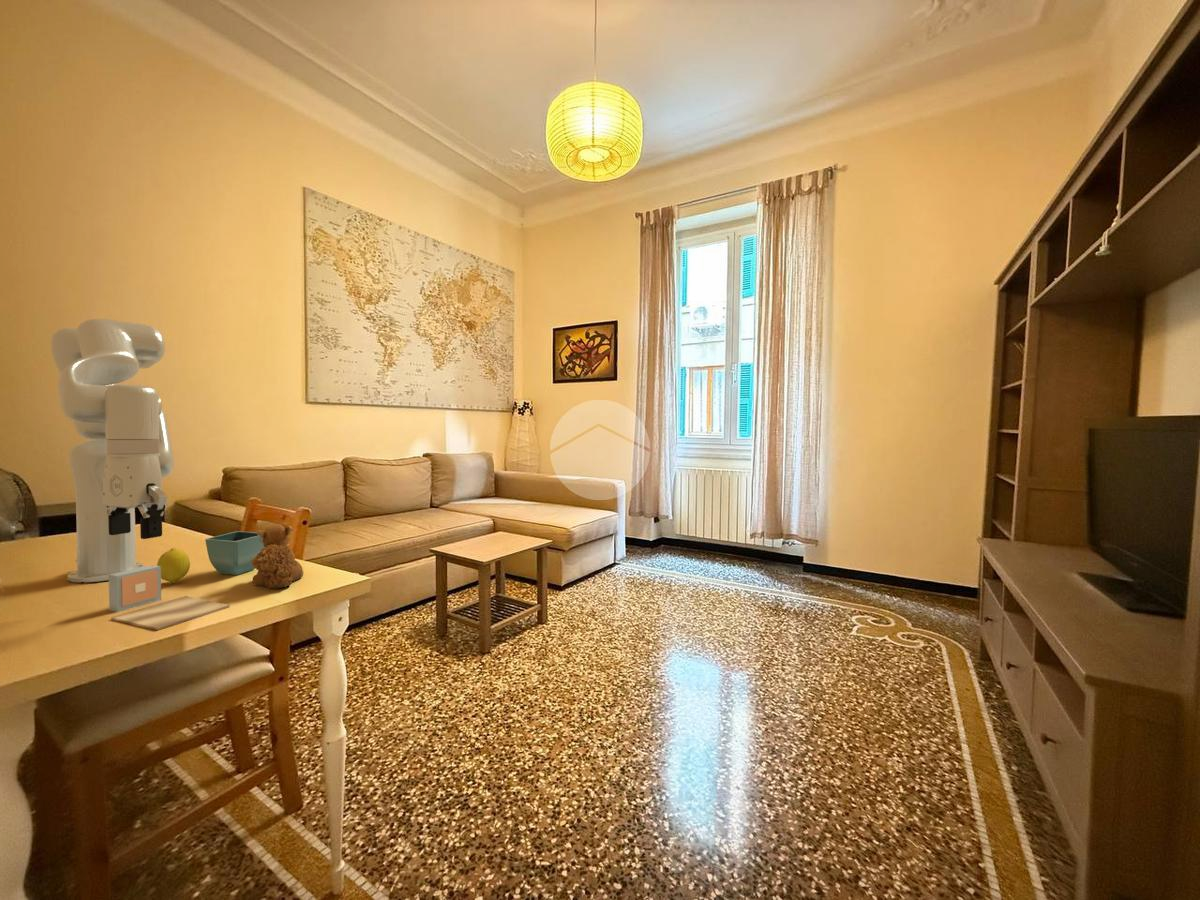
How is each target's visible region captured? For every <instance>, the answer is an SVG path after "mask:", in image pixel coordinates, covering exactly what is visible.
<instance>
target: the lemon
mask: <svg viewBox="0 0 1200 900" xmlns="http://www.w3.org/2000/svg"><path fill="white" fill-rule="evenodd" d="M190 561H191V560H190V558H189V555H188V554H187V553H186V552H185V551H183V550H182V549H181V550H180V549H177V548H175V547H172V548H171V549H170V550H167V551H165V552H163V554H161V555H160V557H159V558H158V561H157V564H156V566H161V580H163V581H166V582H170V583H171V584H176V583H177V582H178V581H180V580H181V579H182V578H183V579H184V577H186V576H187V574H188V572H189V571H190V565H191V562H190Z"/></svg>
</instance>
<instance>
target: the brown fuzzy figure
mask: <svg viewBox="0 0 1200 900" xmlns="http://www.w3.org/2000/svg"><path fill="white" fill-rule="evenodd" d="M292 529H293V527H292V526H290V525H289V526H284V525H279V524H278V525H277V524H275V525H271V526H269V527H267V528H265V530H260V529H259V530H257V532H256V533H257V534H258V535H259V536H261V537H262V538H263V540H262V542H263V544H264V547H263V548H262V549H263V550H261V552H259V553H258V555H257V556H256V557H254V558H253V560H252V561H250V562H251V563H252V565H253V566H252V567H254V568H255V569H256V571H257V573H256V574H254V575H253V577H252V583H253V584H254V586H257V585H258V586H259V587H267V588H269V589H272V590H276V588H277V589H284V588H283V587H285V588H288V587H287V586H289V587H291V586H290V585H292V584H293V582H292V581H294V582H296V581H298V580H300V579H299V578H301V577H302V578H303V576H304V570H303V566H302V565H301V563H300V562H299V561H297V560H296V554H295V553H294V551H293V549H291V547H289V546H288V545H289V535H290V533H291V531H292ZM262 538H261V539H262ZM261 539H260V540H261ZM260 540H259V541H260ZM259 541H258V542H259ZM262 542H261V543H262ZM302 578H301V579H302ZM297 579H298V580H297ZM295 580H296V581H295Z"/></svg>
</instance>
